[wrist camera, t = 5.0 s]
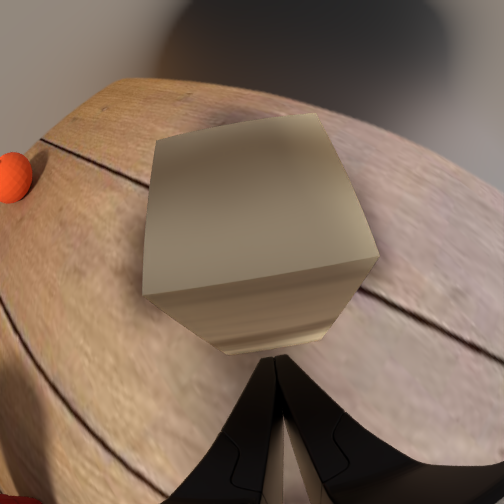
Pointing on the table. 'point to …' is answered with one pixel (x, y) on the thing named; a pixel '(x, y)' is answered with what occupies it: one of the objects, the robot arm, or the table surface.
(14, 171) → the clementine
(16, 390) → the table surface
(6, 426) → the table surface
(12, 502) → the plastic cup
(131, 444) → the table surface
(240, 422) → the robot arm
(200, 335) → the block
